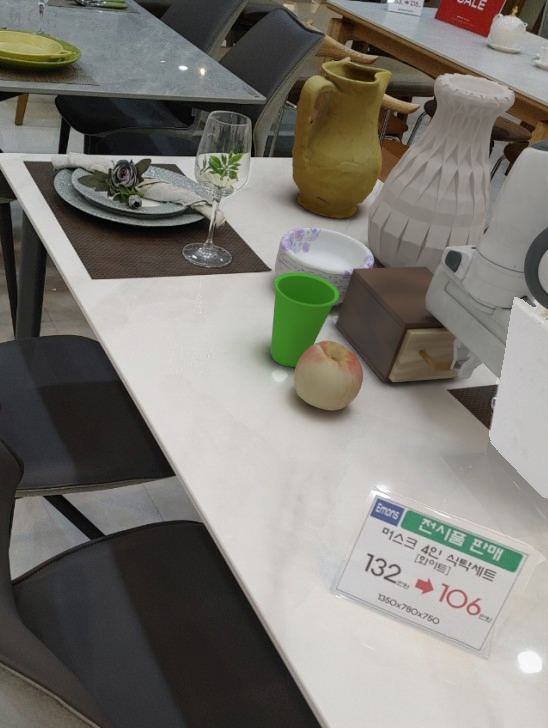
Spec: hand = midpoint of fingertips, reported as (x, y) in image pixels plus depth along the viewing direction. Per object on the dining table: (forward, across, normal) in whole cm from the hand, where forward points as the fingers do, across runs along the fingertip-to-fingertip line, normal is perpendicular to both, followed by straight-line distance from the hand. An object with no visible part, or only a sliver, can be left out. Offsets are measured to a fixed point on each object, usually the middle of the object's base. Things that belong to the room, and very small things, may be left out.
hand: (459, 374), depth 103 cm
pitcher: (+5, +67, -14) cm, 69 cm away
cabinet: (+6, +14, 0) cm, 16 cm away
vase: (+6, +40, -18) cm, 45 cm away
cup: (+6, +15, +18) cm, 24 cm away
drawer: (+5, +11, 0) cm, 12 cm away
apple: (+6, +4, +18) cm, 19 cm away
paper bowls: (+6, +33, +4) cm, 33 cm away
